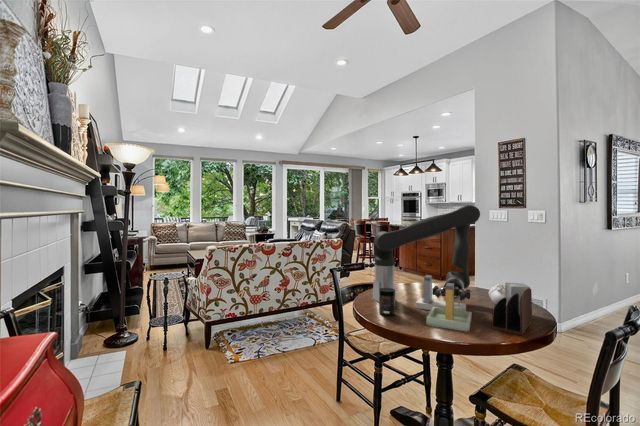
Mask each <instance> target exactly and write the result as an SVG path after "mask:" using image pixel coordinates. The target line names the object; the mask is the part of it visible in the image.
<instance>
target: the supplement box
mask: <svg viewBox="0 0 640 426" xmlns="http://www.w3.org/2000/svg"><path fill="white" fill-rule="evenodd" d="M504 284H505V285H504V288H505V298H506V299H507V302H508V301H509V299H510V298H511V297H512V296H513V295H514V294H519V315H520V297H521V296H522V294H523V292H524V291H525V290H526V289H528V288H530V289H531V287H530V286H529V285H527V284H525V283H523V282H505V283H504ZM507 302H506V305H507Z"/></svg>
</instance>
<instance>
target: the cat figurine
mask: <svg viewBox="0 0 640 426" xmlns="http://www.w3.org/2000/svg"><path fill="white" fill-rule="evenodd" d="M488 297H489V299H490V300H491V301H492V303H493V304H494V305H496V304H497V303H498V302H499V301H500V300H501V299H502V298H505V286H504V285H503V284H499V283H498V284H496V285H492V287H491V288H490V289H489V291H488Z"/></svg>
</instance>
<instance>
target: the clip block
mask: <svg viewBox="0 0 640 426" xmlns="http://www.w3.org/2000/svg"><path fill="white" fill-rule="evenodd" d="M433 307H438V308H446V300H438V299H432V301H431V304H428V303H424V297H423V298H421V297H419V298H418V299H417V300H416V302H415V308H416V309H418V310H419V309H422V310H427V311H431V309H432V308H433ZM454 310H461V311H467V303H461V302H454Z"/></svg>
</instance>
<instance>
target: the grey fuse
mask: <svg viewBox="0 0 640 426" xmlns="http://www.w3.org/2000/svg"><path fill="white" fill-rule="evenodd" d="M423 283H424V284H423V285H424V286H423V298H424V303H428V304H431V301H432V300H433V295H432V289H433V275H430V274H425V275H424V279H423Z"/></svg>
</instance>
